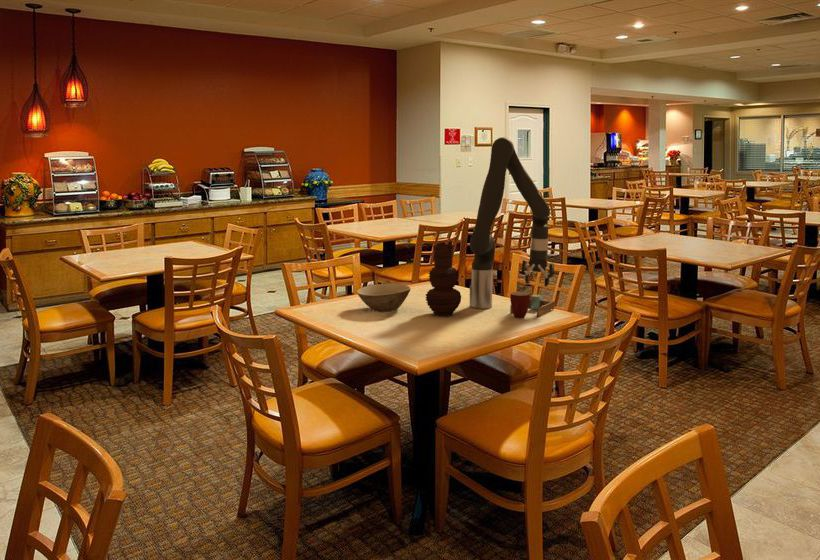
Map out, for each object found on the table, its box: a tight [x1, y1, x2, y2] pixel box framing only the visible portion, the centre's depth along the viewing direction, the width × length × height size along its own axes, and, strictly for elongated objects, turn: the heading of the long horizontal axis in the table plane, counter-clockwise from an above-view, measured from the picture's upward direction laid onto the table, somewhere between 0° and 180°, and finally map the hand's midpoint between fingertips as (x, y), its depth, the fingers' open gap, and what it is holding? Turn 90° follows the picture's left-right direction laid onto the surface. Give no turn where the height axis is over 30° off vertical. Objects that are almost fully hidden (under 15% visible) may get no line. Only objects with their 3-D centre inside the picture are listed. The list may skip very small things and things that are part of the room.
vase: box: [424, 243, 462, 318], centre depth 292 cm, size 15×15×30 cm
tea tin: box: [530, 294, 544, 311], centre depth 303 cm, size 4×4×6 cm
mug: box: [509, 291, 531, 319], centre depth 288 cm, size 11×8×10 cm
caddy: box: [509, 298, 555, 318], centre depth 299 cm, size 13×17×4 cm
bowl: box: [356, 283, 411, 313], centre depth 304 cm, size 24×24×10 cm
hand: (536, 284), depth 302 cm, fingers open, 8 cm apart
